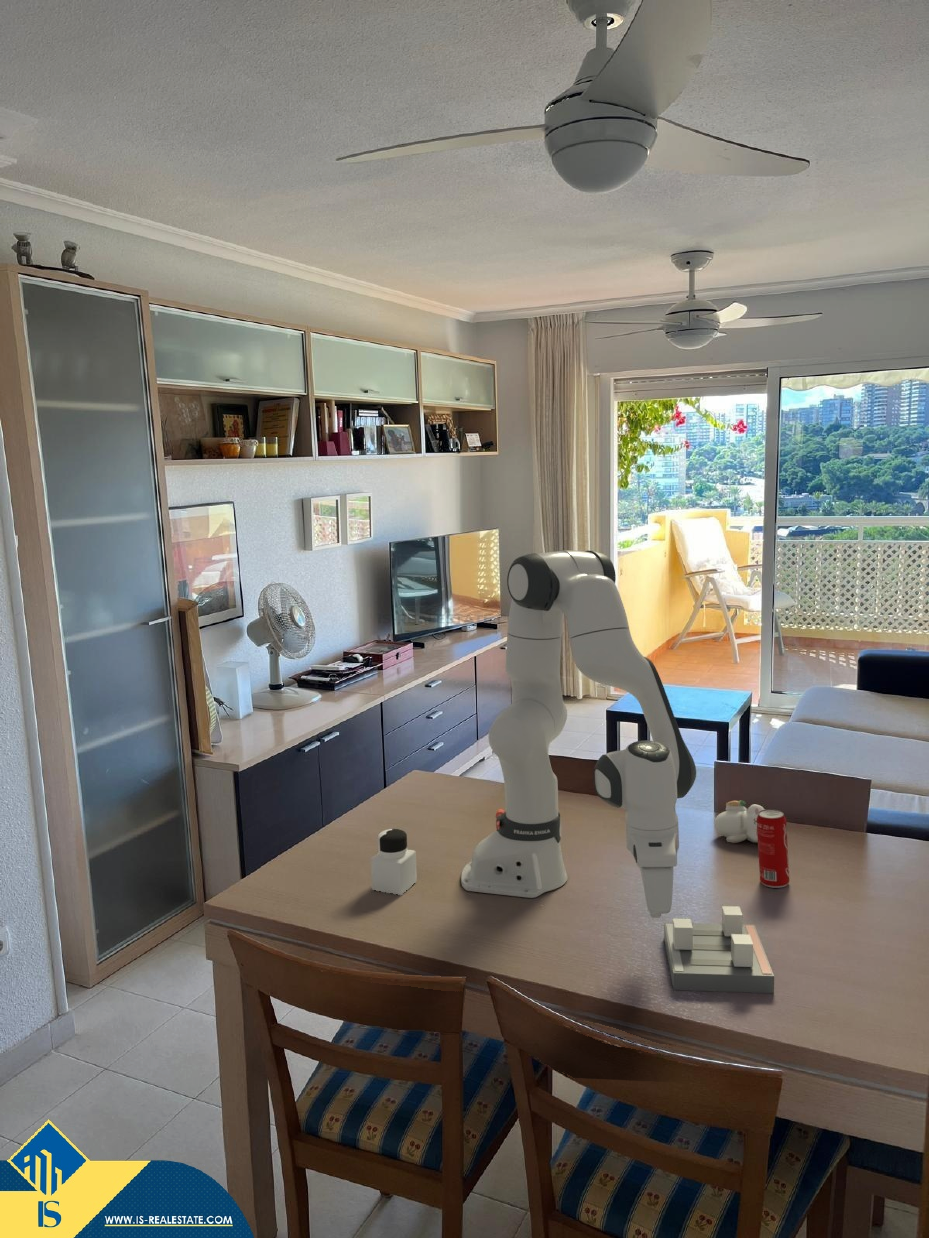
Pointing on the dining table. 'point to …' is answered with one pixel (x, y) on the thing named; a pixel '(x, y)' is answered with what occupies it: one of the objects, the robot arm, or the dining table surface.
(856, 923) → the dining table surface
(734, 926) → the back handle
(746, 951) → the front handle
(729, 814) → the cat figurine
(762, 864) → the beverage can
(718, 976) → the grey slider board
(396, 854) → the medicine bottle
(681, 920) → the beige square block
